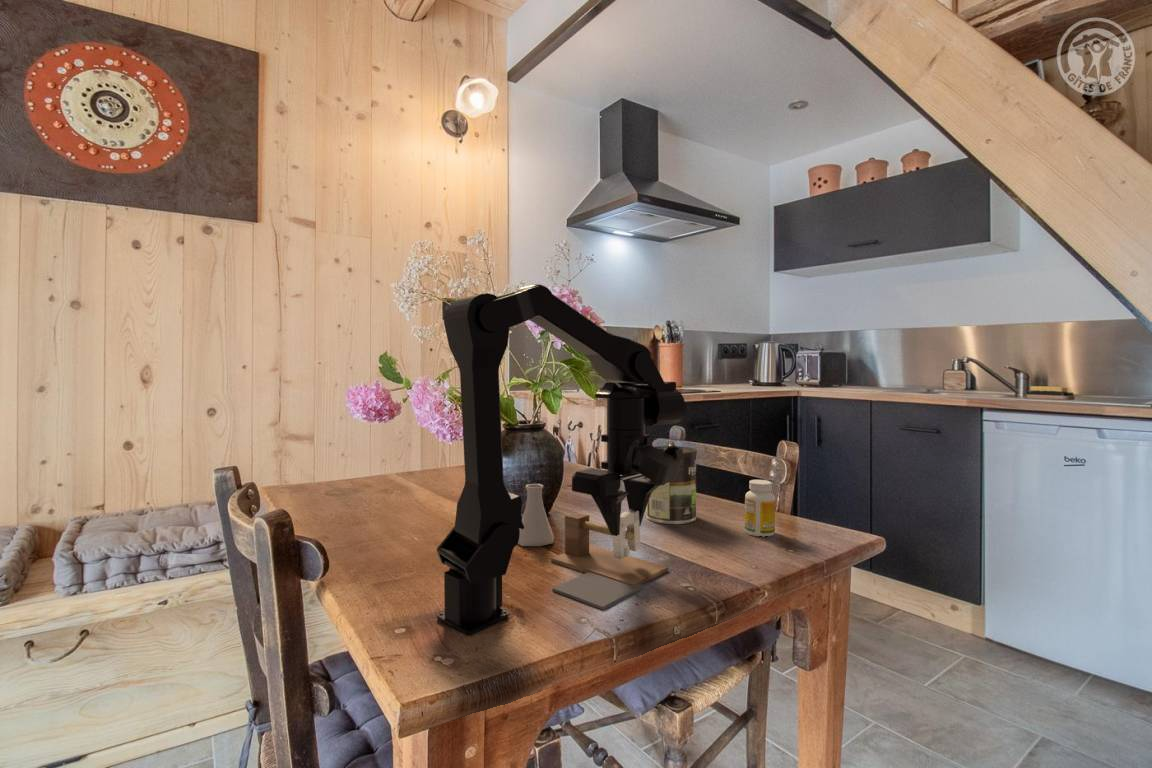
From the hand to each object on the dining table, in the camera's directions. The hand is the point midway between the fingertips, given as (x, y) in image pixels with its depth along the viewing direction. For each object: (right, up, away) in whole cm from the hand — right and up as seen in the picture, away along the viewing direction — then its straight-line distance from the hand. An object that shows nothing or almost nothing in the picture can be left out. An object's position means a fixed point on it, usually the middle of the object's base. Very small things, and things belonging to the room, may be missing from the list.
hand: (625, 531), depth 84 cm
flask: (-15, -6, +15) cm, 22 cm away
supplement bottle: (+27, -6, +19) cm, 33 cm away
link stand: (-3, -6, +3) cm, 7 cm away
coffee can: (+12, -5, +30) cm, 33 cm away
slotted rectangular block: (0, -3, 0) cm, 3 cm away
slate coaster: (-5, -6, -6) cm, 10 cm away
